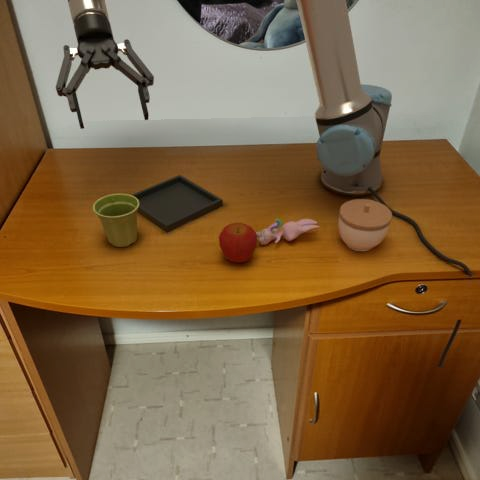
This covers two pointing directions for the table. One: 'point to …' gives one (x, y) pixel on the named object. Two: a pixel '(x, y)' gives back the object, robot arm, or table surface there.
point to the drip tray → (175, 202)
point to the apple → (238, 242)
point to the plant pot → (118, 218)
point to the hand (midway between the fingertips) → (114, 121)
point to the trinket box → (363, 223)
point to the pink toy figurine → (285, 230)
